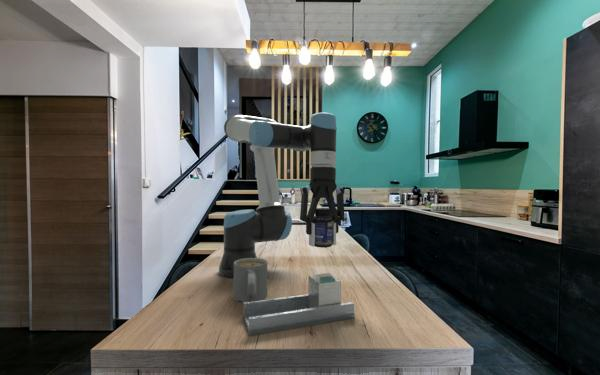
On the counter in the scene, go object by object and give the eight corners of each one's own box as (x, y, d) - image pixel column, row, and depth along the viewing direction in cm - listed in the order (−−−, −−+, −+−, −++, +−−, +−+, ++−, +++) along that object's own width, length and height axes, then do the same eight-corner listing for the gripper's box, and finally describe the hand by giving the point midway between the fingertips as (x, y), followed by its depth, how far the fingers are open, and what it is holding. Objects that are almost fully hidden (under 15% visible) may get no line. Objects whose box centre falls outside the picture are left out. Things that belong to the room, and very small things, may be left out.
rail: (243, 316, 71) (243, 277, 71) (336, 302, 80) (336, 268, 80) (249, 335, 61) (249, 291, 61) (354, 317, 70) (354, 279, 70)
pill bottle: (331, 248, 80) (331, 209, 80) (310, 247, 82) (310, 209, 81) (333, 244, 86) (333, 208, 86) (313, 242, 88) (313, 207, 87)
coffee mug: (237, 289, 90) (237, 257, 90) (268, 289, 90) (269, 257, 90) (226, 307, 76) (226, 270, 76) (263, 307, 76) (263, 270, 76)
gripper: (296, 164, 77) (295, 249, 77) (357, 167, 83) (357, 245, 83) (288, 166, 84) (287, 244, 84) (345, 168, 90) (344, 240, 90)
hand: (322, 244), depth 84 cm, fingers closed on pill bottle, 6 cm apart
